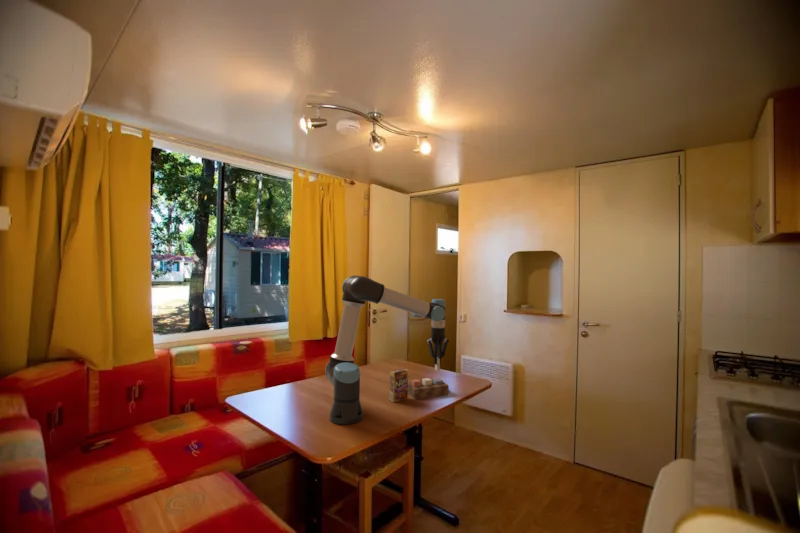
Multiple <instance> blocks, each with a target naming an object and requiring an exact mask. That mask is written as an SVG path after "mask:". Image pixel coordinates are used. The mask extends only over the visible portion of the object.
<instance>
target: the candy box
mask: <svg viewBox="0 0 800 533" xmlns="http://www.w3.org/2000/svg"><path fill="white" fill-rule="evenodd" d="M389 373H390V374H389V375H390V378H389V398H388V399H389V401H390V402H392V403H396V402H402V401H406V400H408V398H409V397H408V395H409V394H408V382H409V370H408V369H407V368H401V369H394V370H390V372H389Z"/></svg>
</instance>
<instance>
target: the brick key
mask: <svg viewBox="0 0 800 533" xmlns="http://www.w3.org/2000/svg"><path fill="white" fill-rule="evenodd" d="M421 381H422V380H420V379H418V378H415V379H411V380H410V382H411V386H413V387H420V386H421Z"/></svg>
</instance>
